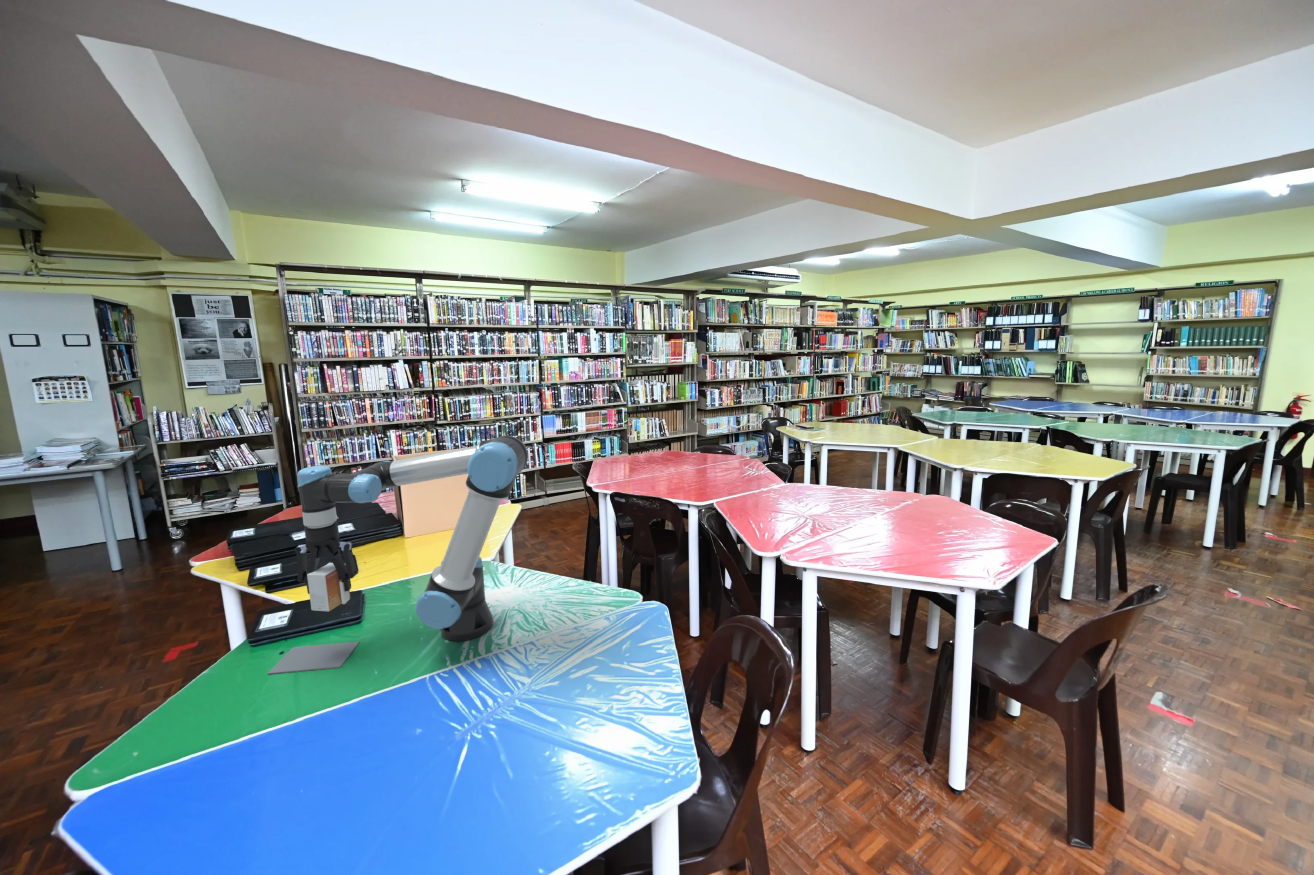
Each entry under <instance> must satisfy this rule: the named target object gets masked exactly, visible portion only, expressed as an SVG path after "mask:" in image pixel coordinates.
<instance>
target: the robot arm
mask: <svg viewBox="0 0 1314 875" xmlns="http://www.w3.org/2000/svg"><path fill="white" fill-rule="evenodd" d="M528 458H529V451H528V449H527V447H526V444H525V443H524V442H523V441H522V440H521V439H520V438H518V437H515V436H513V435H500V436H498V437H495V438H492V439H486V440H483V441H482V440H481V441H479V443H478V444H477V445H473V446H469V447H468V446H467V447H463V448H459V449H458V448H457V449H452V450H446V451H441V452H436V453H429V454H424V455H418V456H414V457H407V458H403V459H397V460H382V461H378V462H376V463H374V464H372V465H370V466H367V467H365V468H363V469H361V470H358V471H355V472H353V473H351V474H333V472H332V469H331V467H330V466H328V465H327V466H326V465H316V466H308V467H305V468H302V469H300V470H299V471H298V472H297V489H298V493H299V498H300V502H301V514H302V522H303V523H302V524H303V526H304V527H303V528H304V536H305V540H306V543H305V544H299V545H298V546H296V547H295V548H294V552H295V555H296V566H297V568H296V569H297V571H296V572H297V575H296V576H297V582H298V583H305V585H306V589H307V590H306V591H307V594H308V595H310V594H309V586H308V578H307V574H309V573H312V572H314V571H316V570H317V569H318V567H319V563H320V559H321V558H328V559H329V561H331V563H333V564H334V566H335V568H336V570H337V572H338V573H339V575H340V577H341V579H342V580H341V581H340V582H339V584H340V591H341V599H342V604H341V605H346V604H347V603H348V602H349V600H350V599H349V590H350V591H351V589H352V581H351V580H352V579H353V578H354V577H356V575H357V574H358V569H357V566H356V561H355V557H354V553H353V544H354V543H353V542H352V541H350V540H349V541H348V542H346V541H342V540H341V538H340V529H339V523H338V522H337V520H338V518H337V517H338V516H337V509H336V503H337V504H338V503H340V504H341V503H342V504H347V503H348V504H351V503H353V504H354V503H355V504H357V503H358V504H365V503H371V502H376V501H377V500H378V499H379V497H380V495H381V493H382V491H383V490H385V489H386V490H387V489H389V488H396V487H400V486H406V485H412V484H417V483H423V482H427V481H428V482H429V481H435V480H441V479H445V478H451V477H456V476H457V477H458V476H462V475H463V476H464V475H467V478H466V481H465V486H466V488H467V490H468V492H467V495H466V498H465V501H464V502H463V506H462V509H461V511H460V514H459V516H458V519H457V523H456V525H455V527H454V529H453V531H452V532H453V533H452V535H451V537H450V541H449V543H448V547H447V549H446V551H445V554H444V557H443V559H442V561H441V562H440V565H439V566H436V567H435V568H434V569H433V570H432V572H431V575H430V577H429V579H428V581H427V582H428V583H427V584H426V587H425V590H424V591H423V592H422V593H421V594H420V595H419V596H418V599H417V600H416V603H415V606H414V608H415V613H416V615H417V617H418V618H419V620H420V622H421V623H423V624H424V625H425V626H427V627H429V628H431V629H438V630H440V635H441V637H443V638H444V639H445V640H448V641H452V642H463V641H469V640H473V639H477V638H478V637H481V636H483V635H484V634H486V633H488V632H489V631H490V630H491V629H492V627H493V625H494V617H493V614H492V612H491V609H490V607H489V606H488V603H487V601H486V592H485V589H486V588H485V580H484V579H485V577H484V576H485V575H484V564H483V559H482V557H481V556H480V555H481V553H482V550H483V547H484V545H485V542H486V540H487V537H488V535H489V532H490V529H491V527H492V525H493V522H494V519H495V517H496V514H497V511H498V509H499V506H500V504H501V501H503V500H506V499H508V498H509V496H510V494H511V491H512V488H513V486H514V484H515V481H516V479H517V476H518V475H519V474H520V473H521V472H522V471H523V470H524V469H525V468H526V466H527V464H528V461H529V459H528ZM339 548H341V551H342V556H343V558H342V557H341V552H340V551H339ZM307 551H309V552H310V553H311V555H310V559H309V566H308V556H307V555H308V554H307ZM345 564H346V566H345Z"/></svg>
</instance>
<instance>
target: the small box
mask: <svg viewBox="0 0 1314 875" xmlns="http://www.w3.org/2000/svg"><path fill="white" fill-rule="evenodd" d="M344 564H345V566H346V563H344ZM307 578H308V586H309V594H308V595H309V601H310V609H311V611H315V612H331V611H332V610H334V609H335V608H337V607H338V606H340V605H343V604H342V599H341V591H340V584H339V582H340V581H341V580H342V579H341V577H340V575H339V573H338V572H337V570H336V568H335V566H334V564H333V563H332V562H328V563H327V564H325V565H324V566H321V567H320V568H317V570H316V571H314V572H312V573H309V574H307ZM350 599H351V589H350V590H349V600H350Z"/></svg>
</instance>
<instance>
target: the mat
mask: <svg viewBox="0 0 1314 875" xmlns="http://www.w3.org/2000/svg"><path fill="white" fill-rule="evenodd" d="M359 644H360V640H359V641H348V642H338V643H337V642H336V643H325V644H315V645H301V646H294V647H291V649H290V650H288V652H287V653H286V654H285V655H284V656H283V657H282V658H281V659H280V660H279V661H278V662H277V663H276V664H275V665H274V666H273V667H272V668H271V669H270V670H269V671H268V672H267V675H268V676H270V675H279V674H290V673H300V672H308V671H309V672H312V671H319V670H321V671H322V670H330V669H341V667H342V666H343V665H344V664H345V663H346V662H347V660H348V658H349V657H350V656H351V654H352V653H353V652H354V651H355V649H356V648H357V647H358V645H359Z"/></svg>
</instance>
